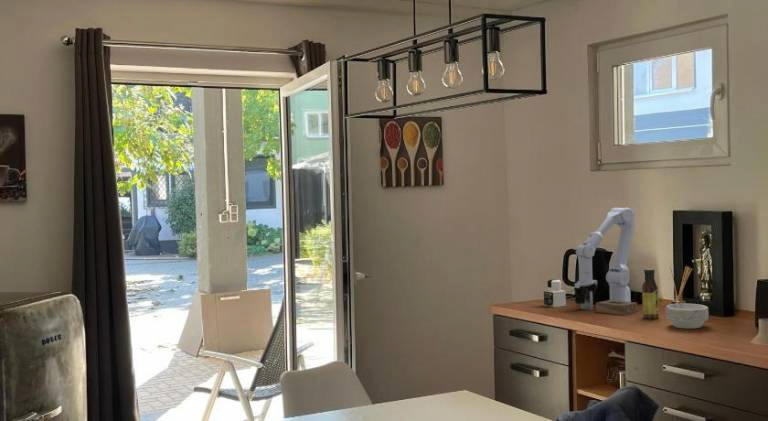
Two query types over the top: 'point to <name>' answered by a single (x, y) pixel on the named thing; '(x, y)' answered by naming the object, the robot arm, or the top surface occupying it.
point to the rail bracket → (588, 301)
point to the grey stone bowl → (687, 315)
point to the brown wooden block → (616, 307)
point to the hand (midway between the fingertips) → (586, 302)
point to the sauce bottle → (650, 295)
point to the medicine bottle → (554, 294)
